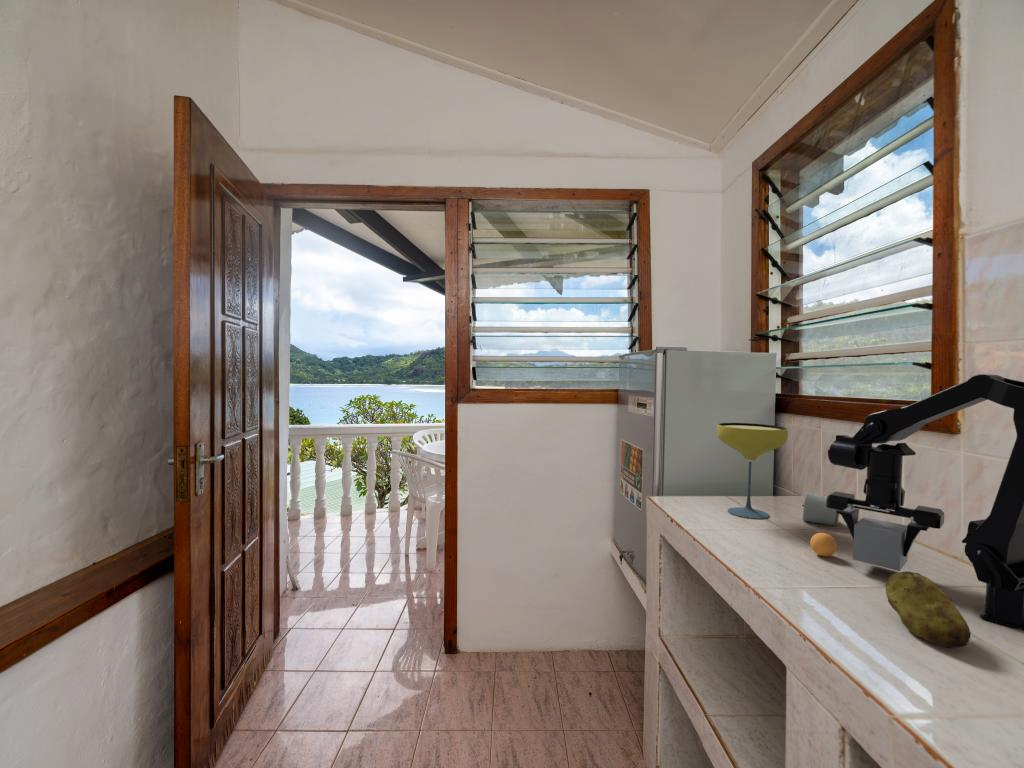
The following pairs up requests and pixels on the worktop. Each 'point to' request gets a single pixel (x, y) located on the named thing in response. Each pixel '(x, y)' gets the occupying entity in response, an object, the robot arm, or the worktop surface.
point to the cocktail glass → (751, 452)
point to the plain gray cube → (880, 543)
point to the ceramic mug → (819, 510)
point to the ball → (823, 544)
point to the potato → (926, 610)
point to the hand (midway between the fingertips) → (880, 550)
